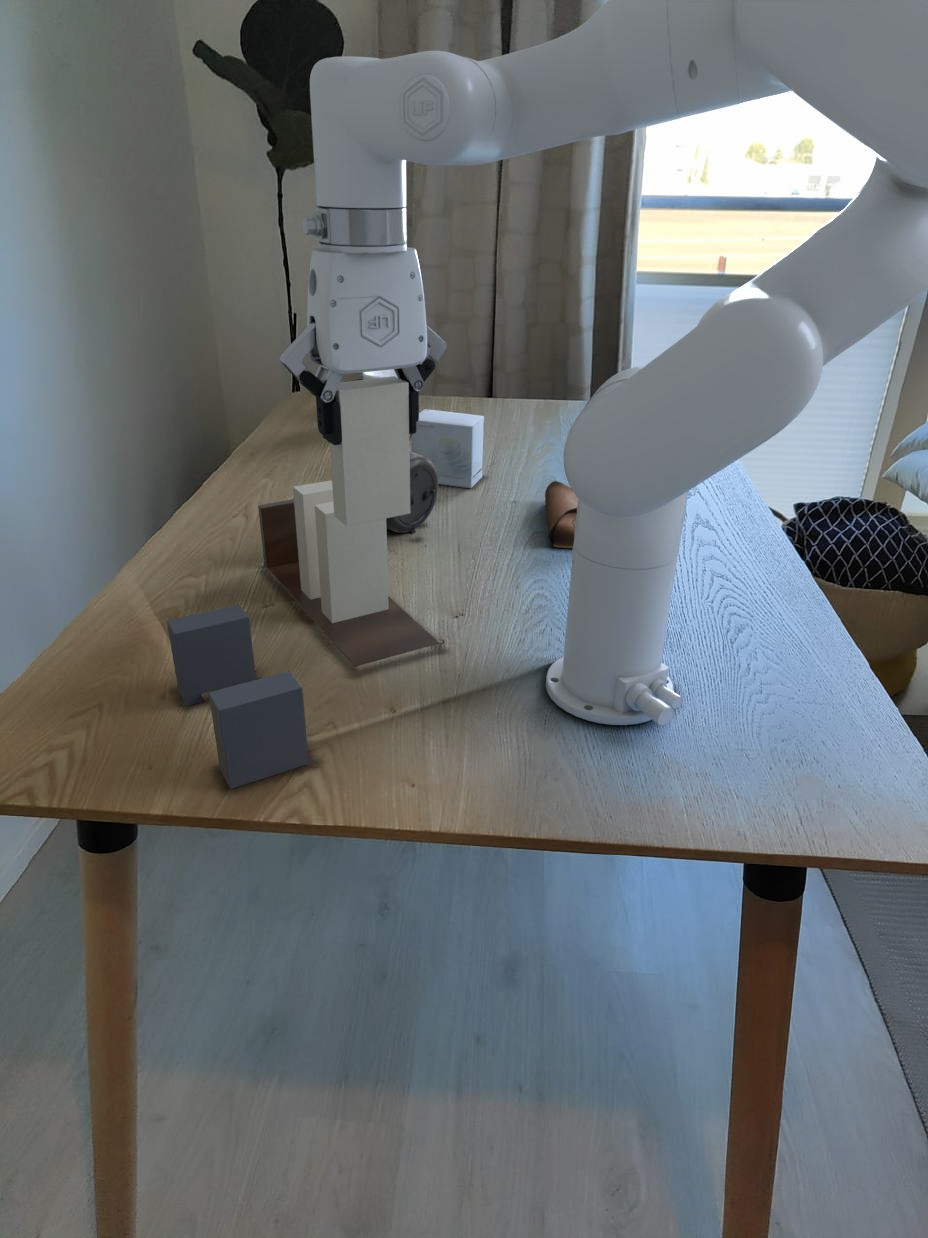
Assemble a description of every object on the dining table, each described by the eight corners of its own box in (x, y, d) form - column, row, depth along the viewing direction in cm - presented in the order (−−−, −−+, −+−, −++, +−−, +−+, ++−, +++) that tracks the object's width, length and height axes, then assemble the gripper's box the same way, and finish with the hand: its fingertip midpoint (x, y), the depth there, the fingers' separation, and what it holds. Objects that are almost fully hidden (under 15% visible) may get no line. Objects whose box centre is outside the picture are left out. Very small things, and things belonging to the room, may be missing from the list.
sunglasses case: (610, 546, 116) (589, 506, 114) (564, 569, 118) (542, 529, 116) (598, 500, 132) (579, 464, 130) (558, 520, 134) (538, 485, 131)
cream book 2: (410, 513, 86) (408, 382, 79) (346, 526, 82) (339, 390, 76) (397, 504, 88) (394, 375, 82) (333, 516, 85) (326, 383, 78)
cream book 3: (388, 609, 98) (385, 502, 92) (332, 623, 95) (325, 514, 89) (377, 599, 100) (374, 494, 94) (321, 612, 97) (314, 504, 91)
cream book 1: (365, 587, 103) (360, 484, 97) (310, 600, 100) (302, 494, 94) (354, 577, 105) (350, 476, 99) (301, 589, 102) (292, 486, 96)
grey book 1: (257, 687, 85) (249, 616, 81) (186, 706, 82) (174, 634, 78) (247, 673, 87) (239, 604, 84) (178, 691, 84) (166, 620, 80)
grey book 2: (309, 764, 75) (302, 687, 71) (230, 789, 71) (218, 710, 68) (296, 746, 77) (289, 670, 73) (219, 770, 74) (208, 692, 70)
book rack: (440, 650, 92) (440, 575, 88) (355, 674, 88) (351, 596, 83) (337, 556, 113) (334, 491, 109) (264, 571, 109) (257, 505, 104)
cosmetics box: (410, 481, 140) (409, 417, 135) (424, 469, 145) (424, 408, 140) (471, 489, 137) (472, 424, 132) (483, 477, 142) (485, 414, 137)
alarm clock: (416, 520, 125) (416, 409, 117) (444, 529, 122) (445, 417, 114) (363, 542, 117) (358, 425, 110) (391, 553, 114) (389, 434, 107)
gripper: (280, 237, 66) (297, 460, 74) (472, 231, 74) (468, 433, 82) (249, 229, 72) (268, 437, 80) (430, 225, 80) (430, 415, 88)
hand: (369, 434), depth 81 cm, fingers closed on cream book 2, 7 cm apart
